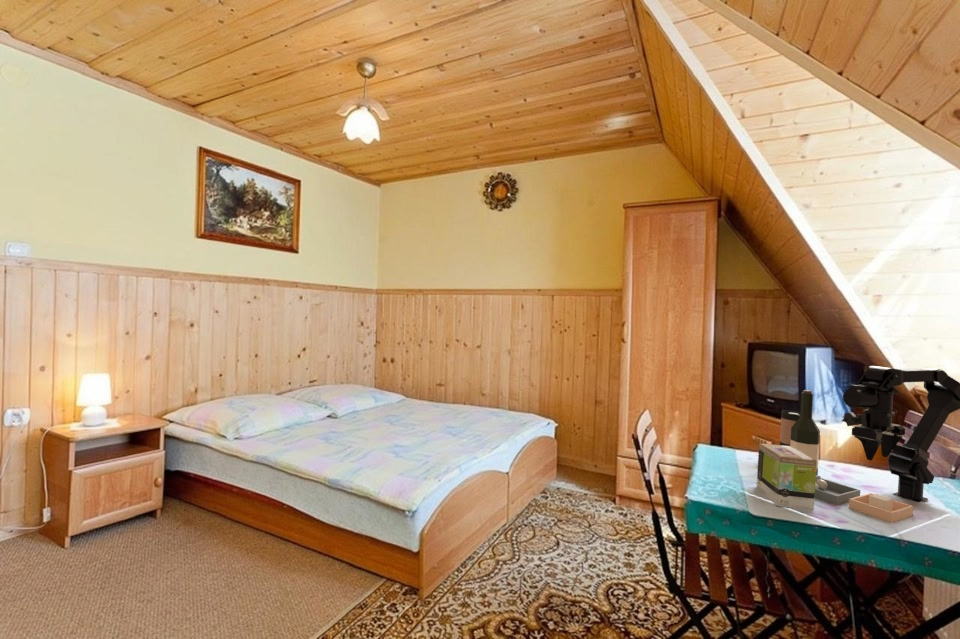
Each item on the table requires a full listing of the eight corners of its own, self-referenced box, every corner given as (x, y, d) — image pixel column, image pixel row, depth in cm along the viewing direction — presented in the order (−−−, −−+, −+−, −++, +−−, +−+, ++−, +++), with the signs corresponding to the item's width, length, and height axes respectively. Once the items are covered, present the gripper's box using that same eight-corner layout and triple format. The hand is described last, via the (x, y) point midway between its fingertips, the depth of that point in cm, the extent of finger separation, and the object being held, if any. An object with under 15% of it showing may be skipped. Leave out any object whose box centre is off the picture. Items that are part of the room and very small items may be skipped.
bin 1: (785, 475, 160) (786, 465, 160) (859, 499, 140) (860, 488, 140) (762, 480, 154) (763, 470, 154) (836, 506, 134) (837, 494, 134)
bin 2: (869, 502, 138) (870, 493, 138) (912, 516, 129) (913, 506, 129) (848, 509, 133) (849, 498, 133) (891, 524, 124) (892, 513, 124)
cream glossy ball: (818, 487, 148) (818, 477, 148) (829, 490, 146) (829, 480, 146) (812, 488, 147) (813, 478, 147) (823, 492, 144) (824, 482, 144)
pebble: (809, 489, 146) (809, 479, 146) (820, 493, 143) (821, 482, 143) (803, 490, 145) (804, 480, 145) (814, 494, 142) (815, 484, 142)
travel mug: (779, 461, 176) (782, 409, 176) (804, 466, 172) (807, 412, 171) (777, 466, 170) (780, 412, 170) (802, 471, 166) (805, 415, 165)
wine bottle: (785, 471, 164) (789, 387, 164) (813, 475, 161) (818, 390, 161) (791, 479, 157) (796, 391, 156) (821, 483, 154) (826, 393, 153)
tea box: (815, 511, 130) (818, 459, 130) (776, 507, 132) (779, 456, 132) (790, 491, 145) (792, 444, 145) (755, 488, 147) (757, 441, 147)
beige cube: (875, 507, 134) (876, 493, 134) (892, 512, 130) (893, 498, 130) (868, 509, 132) (869, 495, 132) (885, 515, 128) (886, 500, 128)
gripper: (864, 401, 152) (861, 448, 153) (833, 404, 144) (830, 453, 144) (907, 408, 143) (904, 458, 143) (876, 411, 134) (873, 465, 134)
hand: (877, 458), depth 141 cm, fingers open, 9 cm apart
